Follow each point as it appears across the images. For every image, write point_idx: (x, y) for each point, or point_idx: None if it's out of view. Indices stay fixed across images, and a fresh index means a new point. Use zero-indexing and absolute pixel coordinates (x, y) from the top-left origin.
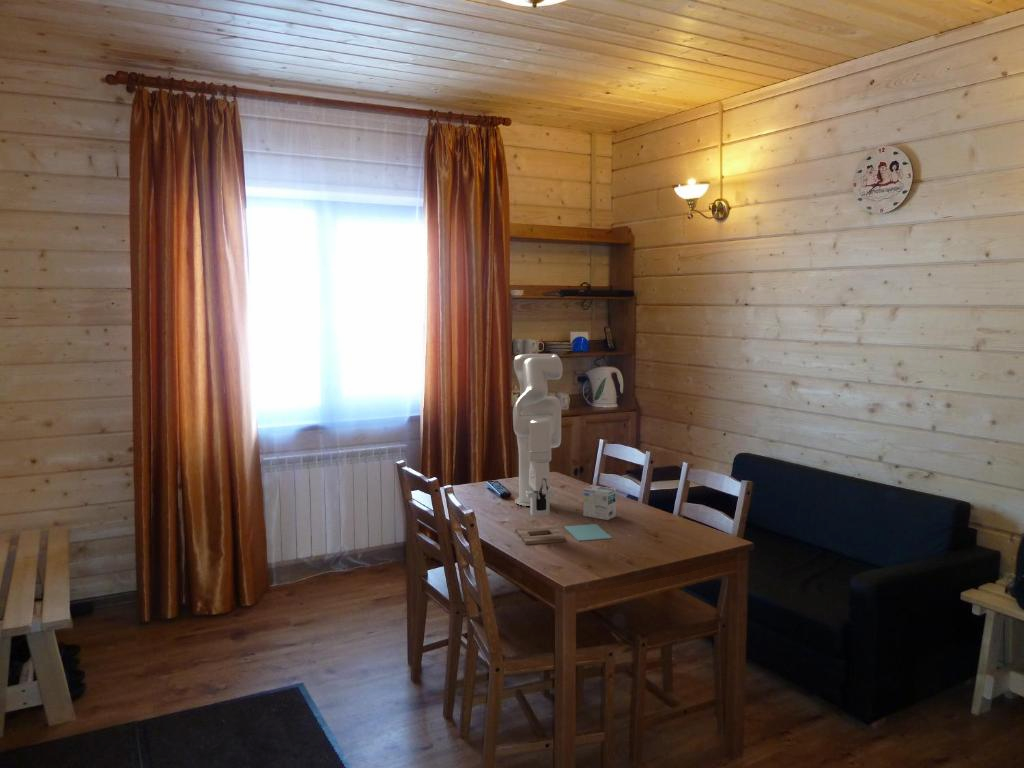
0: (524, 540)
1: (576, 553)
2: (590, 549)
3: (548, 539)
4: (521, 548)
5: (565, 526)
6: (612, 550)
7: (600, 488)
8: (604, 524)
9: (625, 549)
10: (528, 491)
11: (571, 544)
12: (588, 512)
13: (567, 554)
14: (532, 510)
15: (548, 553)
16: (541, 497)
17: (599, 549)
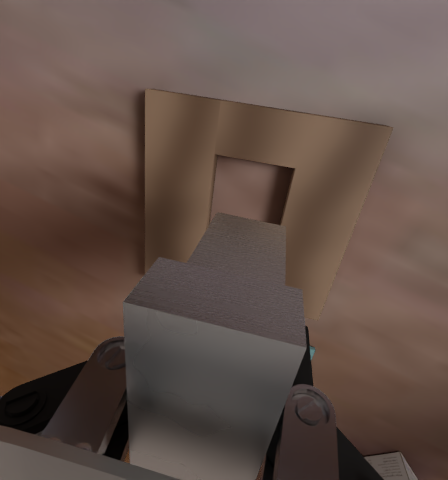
0: (165, 91)
1: (18, 240)
2: (54, 296)
3: (145, 213)
4: (100, 39)
5: (311, 354)
6: (40, 337)
7: None
8: None
9: (46, 364)
10: (268, 374)
11: (113, 272)
12: (382, 472)
13: (8, 208)
14: (205, 232)
15: (20, 144)
16: (66, 375)
17: (52, 316)
